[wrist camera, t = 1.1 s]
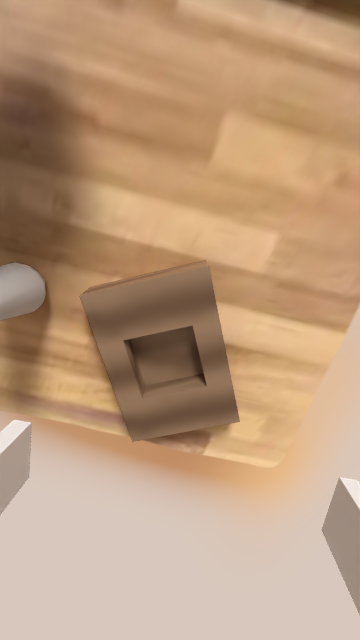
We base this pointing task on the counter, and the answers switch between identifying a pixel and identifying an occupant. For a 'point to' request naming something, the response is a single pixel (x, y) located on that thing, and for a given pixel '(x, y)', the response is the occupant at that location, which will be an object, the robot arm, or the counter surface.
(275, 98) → the counter surface
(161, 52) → the counter surface
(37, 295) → the salt shaker
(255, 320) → the counter surface
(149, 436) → the stand
